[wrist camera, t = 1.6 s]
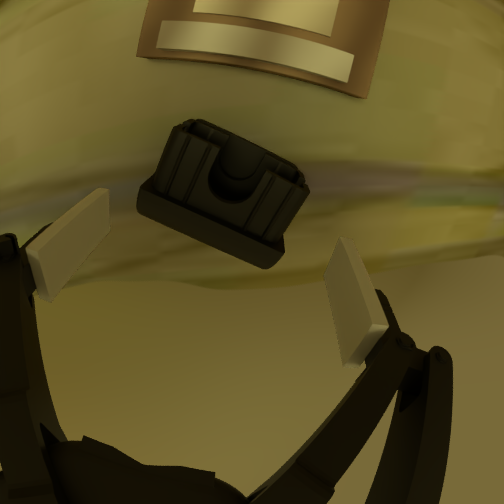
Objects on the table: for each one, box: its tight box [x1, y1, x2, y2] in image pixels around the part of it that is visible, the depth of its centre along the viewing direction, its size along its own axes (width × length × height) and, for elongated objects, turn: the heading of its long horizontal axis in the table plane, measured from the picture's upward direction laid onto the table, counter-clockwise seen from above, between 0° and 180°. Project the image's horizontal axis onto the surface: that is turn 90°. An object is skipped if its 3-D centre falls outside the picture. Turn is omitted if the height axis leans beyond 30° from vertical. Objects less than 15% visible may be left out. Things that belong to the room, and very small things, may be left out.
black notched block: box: [136, 119, 310, 269], centre depth 20 cm, size 10×7×7 cm
